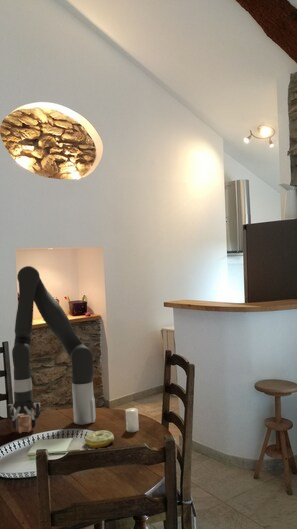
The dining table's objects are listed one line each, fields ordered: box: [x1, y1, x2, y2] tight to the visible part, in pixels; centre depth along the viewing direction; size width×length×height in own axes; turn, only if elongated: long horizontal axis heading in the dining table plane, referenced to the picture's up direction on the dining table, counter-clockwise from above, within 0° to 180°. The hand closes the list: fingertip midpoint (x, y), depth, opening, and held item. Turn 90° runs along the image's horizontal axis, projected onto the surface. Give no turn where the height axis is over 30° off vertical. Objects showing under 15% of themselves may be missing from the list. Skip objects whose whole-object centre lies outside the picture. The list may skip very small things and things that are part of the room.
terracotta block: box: [17, 414, 32, 434], centre depth 175 cm, size 4×4×6 cm
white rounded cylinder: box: [125, 407, 140, 433], centre depth 169 cm, size 5×5×8 cm
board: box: [27, 437, 74, 456], centre depth 155 cm, size 14×12×1 cm
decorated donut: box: [84, 430, 115, 449], centre depth 157 cm, size 10×11×4 cm
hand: (24, 428), depth 175 cm, fingers open, 7 cm apart
